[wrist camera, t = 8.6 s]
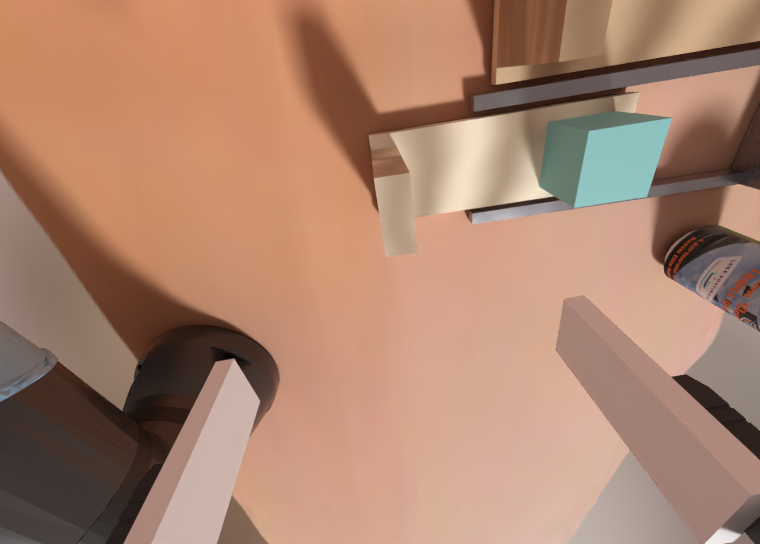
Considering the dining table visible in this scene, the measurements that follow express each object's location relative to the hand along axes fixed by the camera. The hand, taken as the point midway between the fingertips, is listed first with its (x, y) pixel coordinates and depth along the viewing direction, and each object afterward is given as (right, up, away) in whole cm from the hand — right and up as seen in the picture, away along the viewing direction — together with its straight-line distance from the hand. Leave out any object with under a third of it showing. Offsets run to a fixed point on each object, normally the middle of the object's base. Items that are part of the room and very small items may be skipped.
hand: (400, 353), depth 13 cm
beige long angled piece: (+9, +13, +13) cm, 20 cm away
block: (+15, +13, +12) cm, 23 cm away
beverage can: (+31, +6, +19) cm, 36 cm away
